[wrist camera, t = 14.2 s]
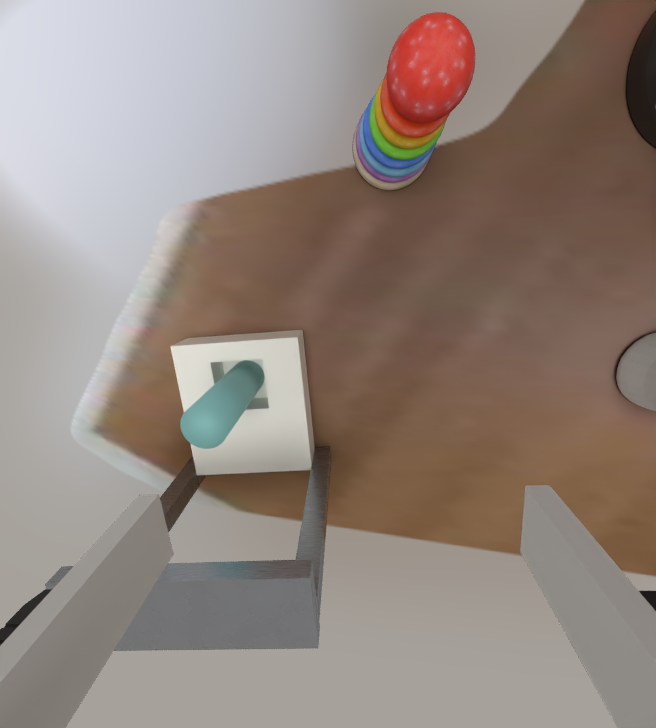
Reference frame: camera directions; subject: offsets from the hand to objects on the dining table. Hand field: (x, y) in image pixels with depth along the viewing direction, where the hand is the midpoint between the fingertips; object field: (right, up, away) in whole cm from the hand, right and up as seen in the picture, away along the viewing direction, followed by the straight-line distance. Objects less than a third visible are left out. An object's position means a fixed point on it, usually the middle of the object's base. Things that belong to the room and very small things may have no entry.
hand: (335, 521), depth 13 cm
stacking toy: (+6, +28, +24) cm, 37 cm away
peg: (-10, +4, +30) cm, 32 cm away
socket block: (-10, +2, +32) cm, 34 cm away
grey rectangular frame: (-9, -5, +34) cm, 36 cm away
